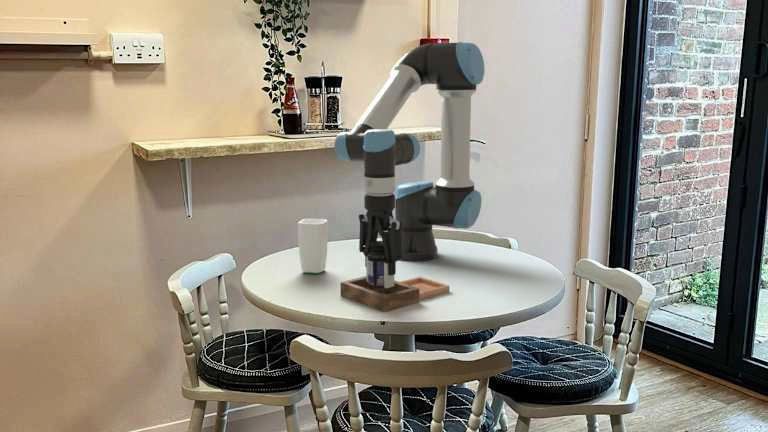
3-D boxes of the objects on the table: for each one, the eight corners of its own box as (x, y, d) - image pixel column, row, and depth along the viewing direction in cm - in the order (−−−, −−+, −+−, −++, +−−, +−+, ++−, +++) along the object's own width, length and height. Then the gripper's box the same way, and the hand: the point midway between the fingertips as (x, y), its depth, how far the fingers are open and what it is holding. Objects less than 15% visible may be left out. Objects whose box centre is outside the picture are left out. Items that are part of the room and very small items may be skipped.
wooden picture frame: (340, 295, 173) (340, 282, 172) (374, 286, 180) (374, 274, 180) (384, 312, 160) (384, 297, 160) (419, 302, 168) (419, 288, 167)
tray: (389, 290, 177) (389, 284, 177) (419, 282, 185) (419, 276, 184) (419, 300, 169) (419, 294, 169) (449, 291, 176) (449, 285, 176)
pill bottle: (395, 283, 172) (395, 241, 170) (387, 290, 166) (387, 247, 164) (372, 280, 174) (372, 239, 172) (364, 287, 168) (363, 245, 166)
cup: (297, 274, 192) (296, 223, 189) (306, 267, 199) (305, 218, 196) (321, 276, 190) (320, 224, 187) (329, 269, 197) (329, 219, 194)
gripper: (343, 190, 170) (345, 278, 175) (394, 200, 156) (394, 296, 161) (366, 186, 175) (367, 272, 180) (417, 196, 161) (417, 289, 166)
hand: (380, 283), depth 170 cm, fingers closed on pill bottle, 6 cm apart
